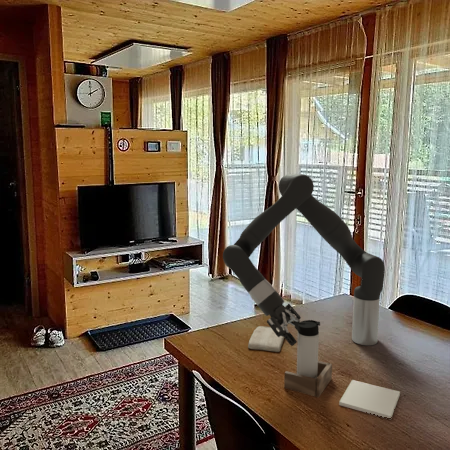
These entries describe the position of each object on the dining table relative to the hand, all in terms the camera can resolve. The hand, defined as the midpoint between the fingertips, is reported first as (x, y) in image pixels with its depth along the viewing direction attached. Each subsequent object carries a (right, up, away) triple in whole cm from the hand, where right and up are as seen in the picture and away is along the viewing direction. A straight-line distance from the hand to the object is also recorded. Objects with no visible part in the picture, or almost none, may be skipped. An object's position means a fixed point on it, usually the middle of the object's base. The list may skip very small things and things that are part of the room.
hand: (299, 338), depth 140 cm
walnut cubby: (+3, -14, +1) cm, 14 cm away
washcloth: (-7, -9, +32) cm, 34 cm away
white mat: (+19, -15, -8) cm, 26 cm away
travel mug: (+3, -14, +1) cm, 14 cm away
